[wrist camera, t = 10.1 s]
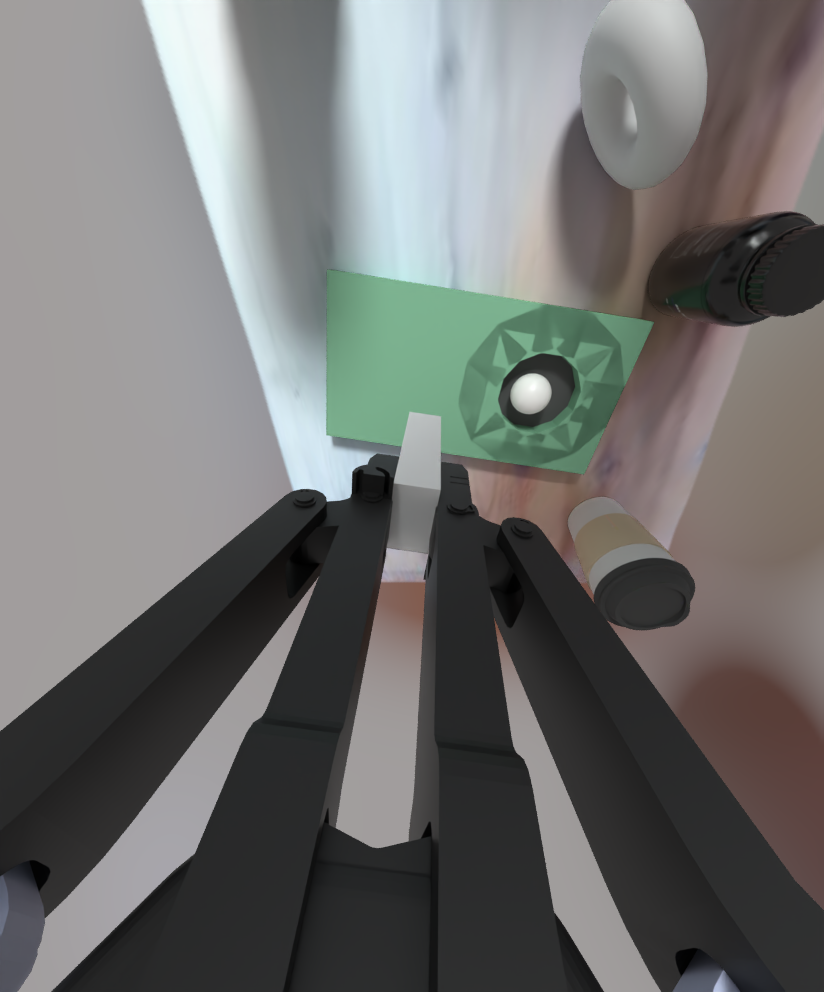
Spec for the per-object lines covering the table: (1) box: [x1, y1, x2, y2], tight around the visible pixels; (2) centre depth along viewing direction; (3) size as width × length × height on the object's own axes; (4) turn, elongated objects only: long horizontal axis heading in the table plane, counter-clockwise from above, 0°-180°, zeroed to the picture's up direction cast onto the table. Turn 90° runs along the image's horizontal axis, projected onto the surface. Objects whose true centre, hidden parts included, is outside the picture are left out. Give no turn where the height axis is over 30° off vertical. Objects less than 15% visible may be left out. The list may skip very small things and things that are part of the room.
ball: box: [510, 373, 552, 414], centre depth 36 cm, size 4×4×4 cm
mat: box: [326, 269, 654, 474], centre depth 36 cm, size 16×30×2 cm, turn 82°
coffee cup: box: [568, 497, 695, 630], centre depth 39 cm, size 9×9×15 cm
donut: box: [580, 0, 708, 190], centre depth 23 cm, size 10×4×10 cm, turn 37°
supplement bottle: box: [648, 211, 824, 327], centre depth 26 cm, size 7×7×12 cm
